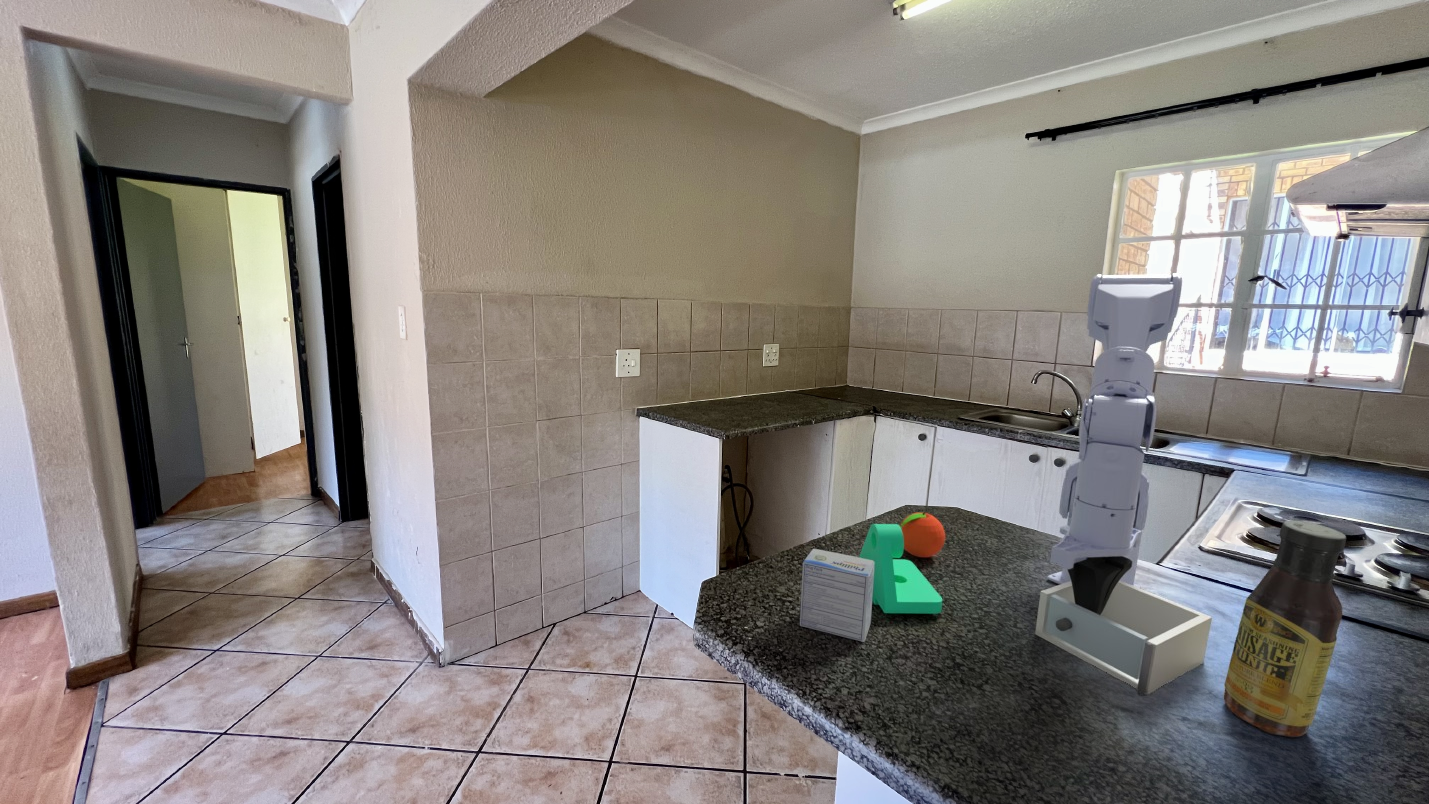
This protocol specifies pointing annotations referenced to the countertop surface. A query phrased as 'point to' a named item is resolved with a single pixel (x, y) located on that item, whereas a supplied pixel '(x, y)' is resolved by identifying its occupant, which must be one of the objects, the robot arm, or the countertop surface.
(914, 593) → the camera mount
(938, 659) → the countertop surface
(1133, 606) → the cream case
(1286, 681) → the sauce bottle
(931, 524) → the clementine
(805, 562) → the medicine box
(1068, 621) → the case door
